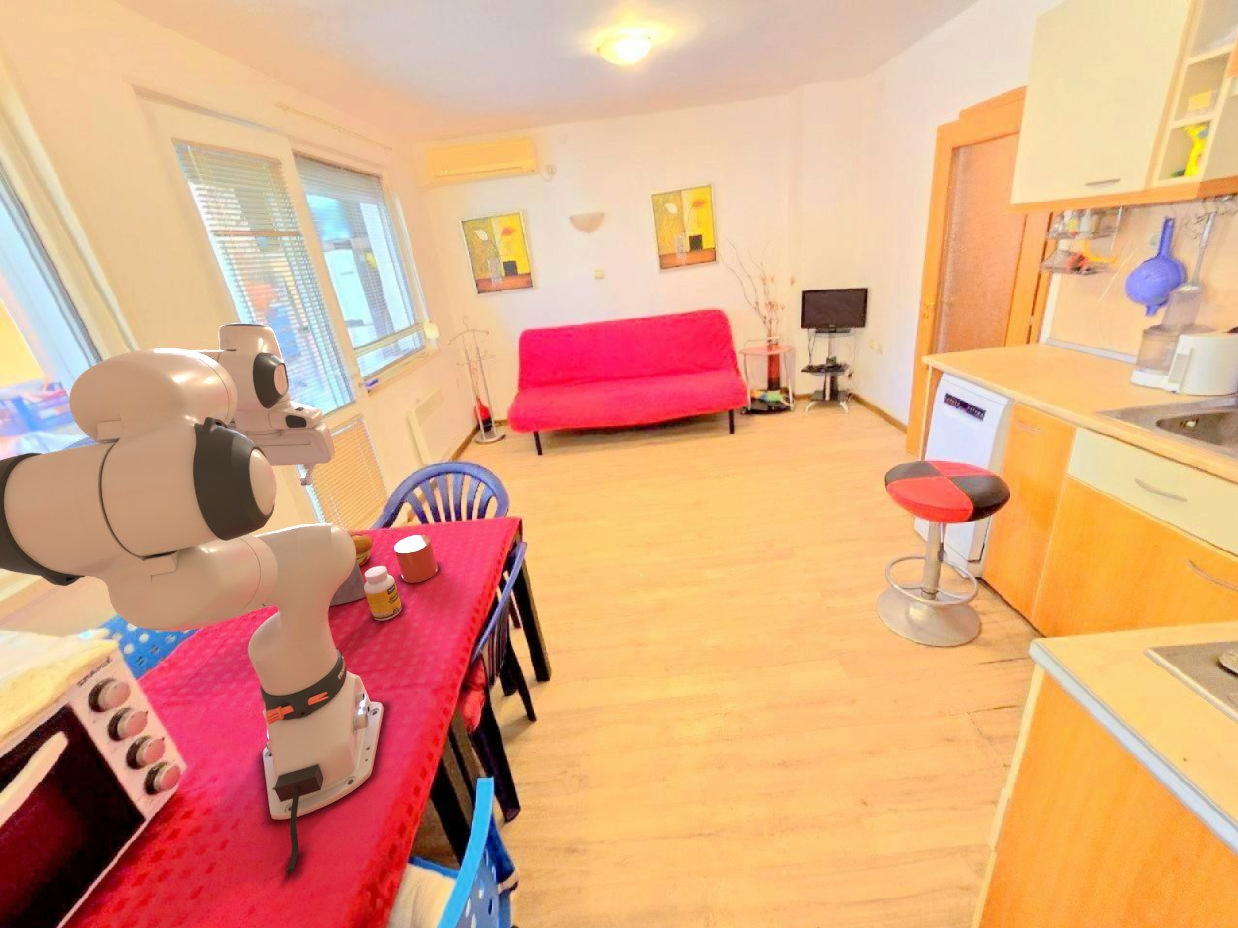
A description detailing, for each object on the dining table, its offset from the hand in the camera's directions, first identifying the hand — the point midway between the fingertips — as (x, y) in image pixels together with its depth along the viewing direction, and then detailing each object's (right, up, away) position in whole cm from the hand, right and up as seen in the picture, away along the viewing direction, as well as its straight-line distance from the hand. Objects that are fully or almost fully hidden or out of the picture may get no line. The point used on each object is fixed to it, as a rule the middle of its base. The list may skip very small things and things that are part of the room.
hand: (278, 485), depth 96 cm
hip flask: (-7, -30, +30) cm, 43 cm away
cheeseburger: (-10, -24, +47) cm, 54 cm away
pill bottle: (+10, -31, +24) cm, 41 cm away
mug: (+11, -25, +40) cm, 49 cm away
